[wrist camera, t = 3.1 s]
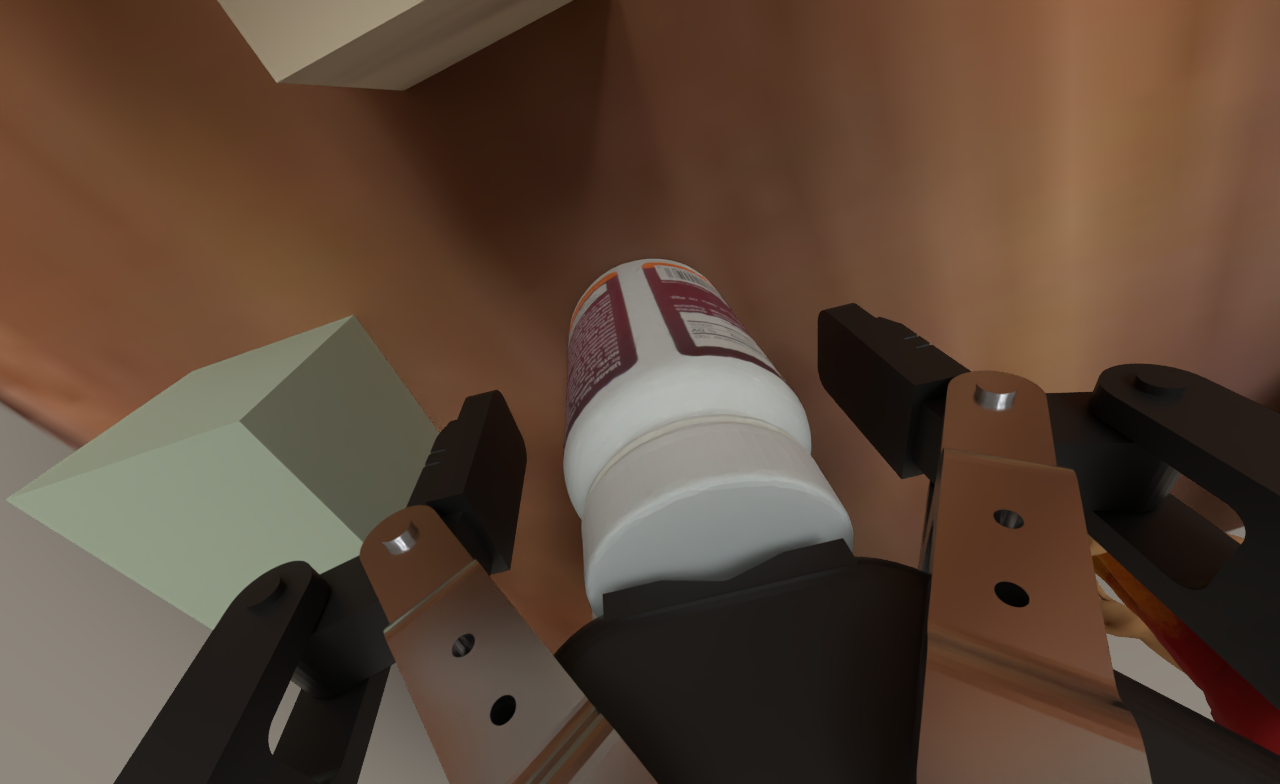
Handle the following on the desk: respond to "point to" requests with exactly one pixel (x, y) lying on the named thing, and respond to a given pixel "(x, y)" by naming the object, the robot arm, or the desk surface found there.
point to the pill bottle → (682, 438)
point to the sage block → (244, 470)
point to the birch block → (374, 36)
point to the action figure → (1185, 652)
